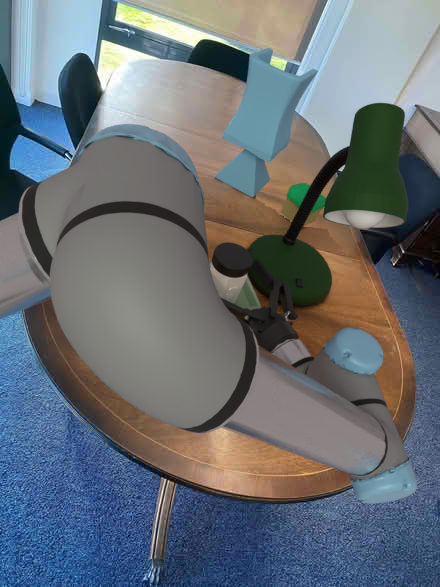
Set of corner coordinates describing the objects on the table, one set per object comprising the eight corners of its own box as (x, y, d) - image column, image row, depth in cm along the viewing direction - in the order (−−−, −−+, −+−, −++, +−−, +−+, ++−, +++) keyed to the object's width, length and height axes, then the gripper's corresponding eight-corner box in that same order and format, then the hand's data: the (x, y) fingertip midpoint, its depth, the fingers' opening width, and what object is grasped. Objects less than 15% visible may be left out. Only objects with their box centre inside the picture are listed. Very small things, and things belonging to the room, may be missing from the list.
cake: (292, 202, 124) (306, 175, 117) (318, 221, 120) (333, 194, 113) (274, 209, 118) (287, 181, 111) (300, 230, 114) (315, 202, 107)
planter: (272, 181, 129) (318, 70, 104) (254, 200, 118) (301, 81, 94) (232, 160, 132) (268, 47, 107) (211, 177, 121) (245, 55, 96)
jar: (207, 311, 83) (222, 272, 74) (193, 283, 87) (206, 243, 79) (243, 304, 87) (261, 267, 78) (228, 278, 91) (243, 240, 83)
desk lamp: (345, 341, 89) (496, 167, 57) (252, 329, 83) (361, 131, 52) (316, 251, 109) (415, 87, 77) (240, 237, 104) (313, 55, 72)
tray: (195, 324, 80) (199, 313, 78) (179, 273, 89) (182, 262, 86) (257, 318, 86) (262, 308, 83) (236, 271, 95) (240, 260, 92)
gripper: (218, 380, 67) (171, 290, 77) (322, 344, 79) (269, 271, 90) (231, 356, 61) (178, 264, 72) (340, 321, 74) (281, 247, 84)
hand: (228, 267), depth 81 cm, fingers open, 13 cm apart
